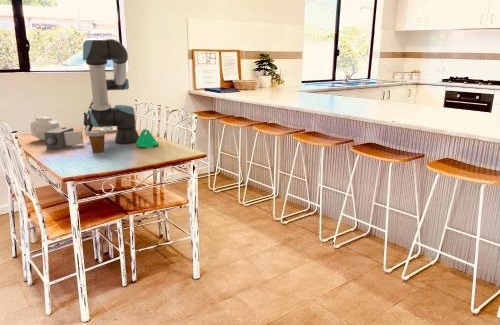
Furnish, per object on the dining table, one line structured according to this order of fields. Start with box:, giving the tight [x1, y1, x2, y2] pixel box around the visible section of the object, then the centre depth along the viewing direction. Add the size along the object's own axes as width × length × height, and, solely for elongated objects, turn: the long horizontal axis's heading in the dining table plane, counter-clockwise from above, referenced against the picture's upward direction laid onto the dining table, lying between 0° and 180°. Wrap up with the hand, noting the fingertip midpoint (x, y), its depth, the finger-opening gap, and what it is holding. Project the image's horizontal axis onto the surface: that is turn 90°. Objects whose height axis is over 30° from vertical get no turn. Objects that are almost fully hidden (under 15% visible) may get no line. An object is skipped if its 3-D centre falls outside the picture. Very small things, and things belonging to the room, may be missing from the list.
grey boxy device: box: [44, 126, 75, 150], centre depth 248 cm, size 19×9×11 cm, turn 173°
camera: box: [30, 115, 60, 142], centre depth 263 cm, size 11×18×16 cm, turn 76°
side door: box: [64, 130, 84, 147], centre depth 249 cm, size 11×1×8 cm, turn 128°
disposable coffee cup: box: [87, 129, 106, 154], centre depth 235 cm, size 10×10×12 cm
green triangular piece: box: [135, 128, 160, 149], centre depth 248 cm, size 12×8×10 cm, turn 120°
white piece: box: [99, 126, 117, 133], centre depth 296 cm, size 12×11×15 cm
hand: (86, 134), depth 259 cm, fingers closed
